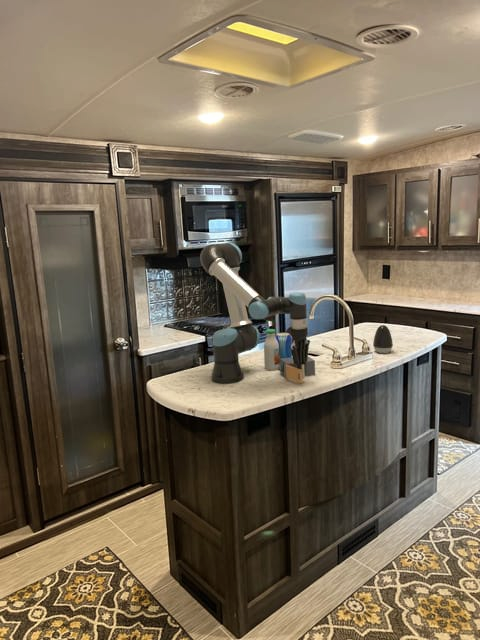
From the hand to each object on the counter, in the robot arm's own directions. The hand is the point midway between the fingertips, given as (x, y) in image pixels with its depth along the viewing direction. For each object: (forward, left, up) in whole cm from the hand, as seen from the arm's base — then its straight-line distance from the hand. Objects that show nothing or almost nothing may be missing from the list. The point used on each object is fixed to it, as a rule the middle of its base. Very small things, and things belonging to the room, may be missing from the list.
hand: (301, 378), depth 213 cm
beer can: (+2, +31, -2) cm, 31 cm away
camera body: (+3, +12, -2) cm, 13 cm away
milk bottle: (-6, +26, -2) cm, 27 cm away
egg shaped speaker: (+59, +31, -2) cm, 67 cm away
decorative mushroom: (+17, +55, -2) cm, 58 cm away
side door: (-4, +1, -1) cm, 4 cm away
